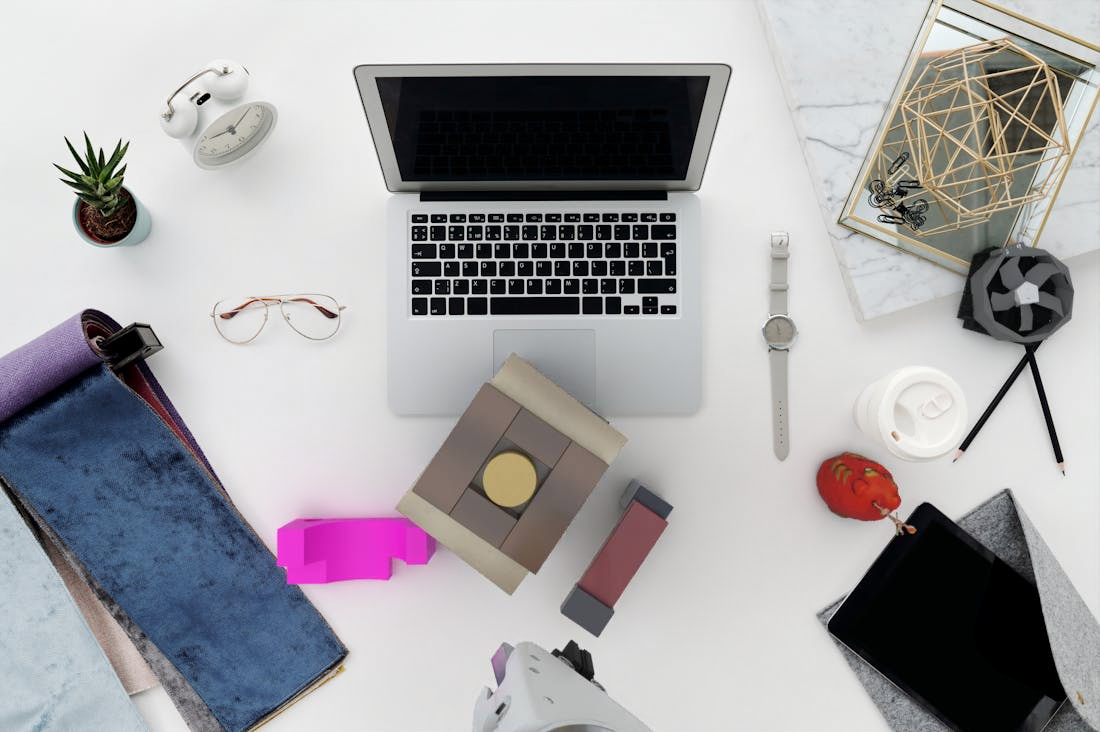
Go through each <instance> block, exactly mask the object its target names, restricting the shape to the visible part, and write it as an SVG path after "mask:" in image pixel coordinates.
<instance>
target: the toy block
mask: <svg viewBox="0 0 1100 732" xmlns="http://www.w3.org/2000/svg"><path fill="white" fill-rule="evenodd" d="M435 554H436V539H435V538H433V537H432V536H431V535H429V534H428V533H427V532H425V531H424V530H423V529H421V528H420V527H419V526H417V525H416V524H415V523H414V522H412V521H411V520H410V519H408V518H407V517H406V516H404V517H402V516H401V517H341V518H340V517H337V518H336V517H334V518H333V517H332V518H331V517H329V518H325V517H324V518H296V519H294V520H291V521H290V522H288V523H287V524H284V525H282V526H280V527H279V528H276V567H277V568H282V567H283V568H286V585H328V584H332V583H338V582H339V583H340V582H345V581H347V582H348V581H357V580H358V581H360V580H378V581H389V580H390V579H391V578H392V577H393V558H394V559H398V560H400V561H403V562H405V563H406V566H427V565H428V564H429V562H430V561H431V559H432V558H433V556H434V555H435Z"/></svg>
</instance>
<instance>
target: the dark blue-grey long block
mask: <svg viewBox="0 0 1100 732" xmlns="http://www.w3.org/2000/svg"><path fill="white" fill-rule="evenodd" d="M622 493H623V494H622V495H621V496H620V497H619V499H618V502H619V503H620V505H621V507H622V508H623V509H624V511H625V510H626V509H627V507H628V506H629V504H630V503H631V501H632V500H633V499H635V500H637V501H638V502H640V503H641V504H643V505H644V506H646V507H647V508H649V509H650V510H652V511H653V512H654V513H656V514H657V515H659V516H660V517H662V518H663V519H665V520H666V521H667V519H668V517H669V515H670V514H671V512H672V511H673V510H674V506H673V505H672V504H671V503H669V502H668V501H667V500H666V499H665V498H664V497H663V496H661V494H658V493H657V492H655V491H654V490H653V489H651V488H650V487H648V486H646V485H645V484H643V483H642V482H640V481H639V480H637V479H636V478H635V477H634V478H632V480H630V483H628V486H627V488H626V489H625V490H624V492H622Z"/></svg>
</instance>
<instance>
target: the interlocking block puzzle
mask: <svg viewBox="0 0 1100 732" xmlns="http://www.w3.org/2000/svg"><path fill="white" fill-rule="evenodd" d="M628 441H629V438H627V437H626V436H625V435H623V434H622V433H620V432H619V431H618V430H617V429H615V428H614V427H613V426H612V425H610V421H609V420H607V419H605V418H604V417H603V416H601V415H599V414H598V413H596V411H593V410H592V409H590V407H587V405H585V404H583V403H582V402H580V401H579V400H577V399H576V398H575V397H573V396H572V395H570V394H569V393H568V392H566V390H564V389H562V388H561V387H560V386H558V384H556V383H555V382H554V381H552V380H550V379H549V378H548V377H547V376H545V375H544V374H543V373H541V372H540V371H538V370H537V368H535V367H533V366H532V365H531V364H529V363H528V362H527V361H525V360H524V359H523V358H521V357H520V356H519V355H517V354H516V353H515V352H512V353H511V354H510V356H509V357H508V358H507V359H506V361H504V362H503V363H502V364H501V367H500V368H499V369H498V372H497V373H496V374H495V375H494V376H493V377H492V379H491V380H490V382H489V381H485V382H484V383H483V384H482V386H481V387H480V389H479V390H478V392H477V393H476V395H475V396H474V398H473V399H472V400H471V402H470V404H469V405H468V407H467V408H466V409H465V411H464V412H463V414H462V415H461V417H460V418H459V419H458V421H457V423H456V424H455V426H453V428H452V430H451V431H450V433H449V434H448V436H447V437H446V439H445V440H444V441H443V443H442V445H441V446H440V448H439V449H438V450H437V452H436V453H435V454H434V456H433V457H432V458H431V459H430V461H429V462H428V464H427V465H426V466H425V468H424V469H423V470H422V472H421V473H420V474H419V476H417V477H416V480H415V481H414V482H413V483H412V485H411V486H410V487H409V489H408V490H407V491H406V492H405V494H404V495H403V496H402V498H401V499H400V501H399V502H398V503H397V505H396V506H395V507H394V509H395V510H396V511H397V512H399V513H400V514H401V515H402V516H404V517H407V518H408V519H410V520H411V521H412V522H414V523H415V524H416V525H417V526H419V527H420V528H421V529H423V530H424V531H425V532H427V533H428V534H429V535H431V536H432V537H433V538H435V541H436V542H438V543H439V544H441V545H442V546H444V547H445V548H446V549H448V550H449V551H451V552H452V553H453V554H454V555H455V556H457V557H458V558H460V559H461V560H462V561H464V562H465V563H466V564H467V565H468V566H469V567H472V569H474V570H475V571H477V572H478V573H479V574H480V575H482V577H485V578H486V579H487V580H489V581H490V583H493V584H494V585H495V586H496V587H498V588H499V589H501V590H502V591H503V592H504V593H506V594H507V595H508V596H510V597H512V595H513V594H514V593H515V591H516V590H517V589H518V588H519V586H520V585H521V584H522V582H523V581H524V580H525V578H526V577H527V576H528V575H529V573H531V574H533V575H535V576H536V575H537V574H538V573H539V571H540V570H541V568H542V566H543V565H544V564H545V562H546V560H547V559H548V558H549V557H550V555H551V553H552V552H553V550H554V549H555V548H556V546H557V544H558V543H559V541H560V540H561V538H562V537H563V535H564V533H566V531H567V530H568V528H569V526H570V525H571V523H572V522H573V520H574V519H575V518H576V516H577V515H578V513H579V511H580V510H581V509H582V507H583V505H584V504H585V502H586V501H587V499H588V498H589V497H590V495H591V493H592V492H593V490H594V489H595V488H596V486H597V485H598V483H599V482H600V480H601V479H602V477H603V476H604V475H605V473H606V472H607V470H608V469H609V466H610V465H611V464H612V462H613V460H614V459H616V457H617V455H618V454H619V453H620V452H621V450H622V449H623V447H624V446H625V445H626V444H627V443H628ZM506 450H516V451H520V452H522V453H524V454H526V455H527V456H528V457H529V458H530V459H531V460H532V461H533V463H534V465H535V467H536V472H537V482H536V487H535V490H534V493H533V494H532V496H531V497H530V498H529V499H528V500H527V501H526V502H525V503H523V504H521V505H518V506H515V507H505V506H501V505H498V504H497V503H495V502H493V501H492V500H491V499H490V498H489V497H488V495H487V494H486V492H485V489H484V486H483V474H484V471H485V469H486V467H487V465H488V464H489V462H490V461H491V459H492V458H493V457H494V456H496V455H497V454H499V453H500V452H503V451H506Z"/></svg>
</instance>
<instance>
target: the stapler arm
mask: <svg viewBox="0 0 1100 732" xmlns="http://www.w3.org/2000/svg"><path fill="white" fill-rule="evenodd" d="M668 525H669V522H668V521H667V519H666V520H665V519H663V518H662V517H660V516H659V515H657V514H656V513H654V512H653V511H652V510H650V509H649V508H647V507H646V506H644V505H643V504H641V503H640V502H638V501H637V500H635V499H633V500H632V501H631V503H630V504H629V506H628V507H627V509H626V510H625V509H624V512H623V513H622V514H621V516H620V518H619V519H618V521H617V522H616V524H615V525H614V527H613V528H612V529H611V531H610V533H609V534H608V536H607V537H606V538H605V540H604V542H603V543H602V545H601V546H600V548H599V549H598V551H597V552H596V554H595V555H594V556H593V558H592V560H591V561H590V562H589V564H588V565H587V567H586V569H585V570H584V571H583V572H582V573H583V574H581V576H580V577H579V579H578V581H576V582H575V584H574V585H573V587H572V588H571V589H570V591H569V592H568V594H567V595H566V597H565V598H564V600H563V602H562V603H561V605H560V607H559V609H560V614H561V615H563V616H564V617H566V618H567V619H569V620H570V621H571V622H573V623H574V624H576V625H578V626H579V627H581V628H582V629H583V630H585V631H587V632H588V633H589V634H591V635H592V636H593V637H596V638H597V639H598V638H599V637H600V636H601V634H602V633H603V631H604V630H605V628H606V626H607V625H608V624H609V622H610V621H611V619H612V618H613V616H614V615H615V609H614V606H615V605H616V603H617V602H618V601H619V599H620V597H621V596H622V595H623V593H624V591H625V590H626V588H627V587H628V586H629V584H630V583H631V581H632V579H633V578H634V577H635V575H636V573H637V572H638V571H639V569H640V568H641V566H642V564H643V563H644V562H645V560H646V558H647V557H648V556H649V554H650V553H651V551H652V550H653V548H654V546H655V545H656V543H657V542H658V540H659V539H660V538H661V536H662V534H663V533H664V531H665V530H666V528H667V527H668Z"/></svg>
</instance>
